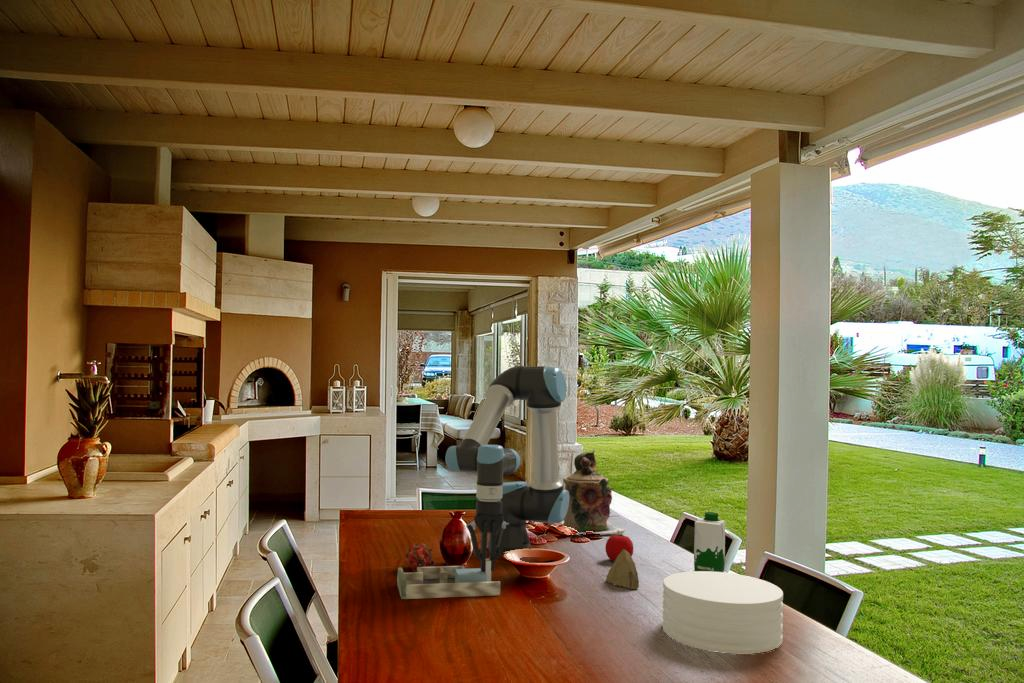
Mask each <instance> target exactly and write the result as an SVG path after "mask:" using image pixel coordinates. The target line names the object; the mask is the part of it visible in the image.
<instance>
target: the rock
mask: <svg viewBox="0 0 1024 683" xmlns="http://www.w3.org/2000/svg"><path fill="white" fill-rule="evenodd" d="M632 557H633V556H632ZM632 557H631V555H630V553H629V552H627V551H626V550H624V549H623V550H622V551H621V553H620V554H619V555H618V557H617V558H616V560H615V561H613V563H612V566H611V567H610V569H609V570H608V573H607V575H606V578H605V581H607V582H606V583H609V582H610V583H612V584H611V585H613V584H615V585H614V586H617V585H618V586H617V587H621V586H623V587H622V588H626V587H627V589H630V590H638V589H639V584H640V580H639V576H638V571H637V567H636V563H635V562H634V560H633V558H632ZM605 581H604V582H605ZM610 583H609V584H610ZM637 588H638V589H637Z"/></svg>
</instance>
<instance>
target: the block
mask: <svg viewBox="0 0 1024 683" xmlns="http://www.w3.org/2000/svg"><path fill="white" fill-rule="evenodd" d="M486 580H487V574H486V573H485V572H482V571H481V569H480V568H479V567H476V568H466V569H455V583H463V582H486Z"/></svg>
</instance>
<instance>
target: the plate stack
mask: <svg viewBox="0 0 1024 683" xmlns="http://www.w3.org/2000/svg"><path fill="white" fill-rule="evenodd" d="M662 583H663V584H662V587H663V590H662V598H663V600H662V609H663V610H662V625H661V627H663V629H662V631H663V630H664V631H663V633H664V632H665V633H666V634H667V635H668V636H669V637H668V636H667V635H666V634H665V633H664V634H665V635H666V636H667V637H668V638H670V637H671V638H673V639H675V640H676V641H675V640H674V641H675V642H677V641H679V642H681V643H683V644H682V645H684V644H685V645H684V646H686V645H689V646H692V647H691V648H693V647H695V648H694V649H696V648H699V649H698V650H700V649H703V650H702V651H704V650H710V651H718V652H726V653H760V652H765V651H769V650H773V649H775V648H778V647H779V646H780V645H781V644H783V641H784V640H783V632H784V629H783V628H784V627H783V626H784V625H783V621H784V614H783V611H784V604H783V603H784V602H783V600H784V591H783V590H782V589H781V588H780V587H779V586H778V585H776V584H774V583H771V582H770V581H768V580H764V579H760V578H758V577H754V576H748V575H744V574H738V573H734V572H733V573H732V572H725V571H724V572H713V571H694V570H693V571H682V572H678V573H673V574H669V575H668V576H666V577H665V578H664V579H663V582H662ZM671 638H670V639H671ZM673 639H672V640H673ZM679 642H678V643H679ZM681 643H680V644H681ZM689 646H688V647H689ZM781 646H782V645H781ZM781 646H780V647H781ZM780 647H779V648H780ZM779 648H778V649H779ZM773 651H774V650H773Z"/></svg>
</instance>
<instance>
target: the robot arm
mask: <svg viewBox="0 0 1024 683" xmlns="http://www.w3.org/2000/svg"><path fill="white" fill-rule="evenodd" d="M567 392H568V391H567V381H566V377H565V375H564V373H563V371H562V370H561V369H560V368H558V367H554V366H548V365H547V366H546V365H545V366H544V365H543V366H542V365H540V366H539V365H538V366H537V365H536V366H534V365H530V366H529V365H525V366H524V365H516V366H512V367H509V368H508V369H506V370H504V371H503V372H501V373H500V374H499V375H498V376H497V377H495V378H494V379H493V380H492V381H491V383H490V385H489V386H488V388H487V390H486V397H485V399H484V401H483V403H482V405H481V406H480V408H479V409H478V411H477V414H476V415H475V417H474V419H473V421H472V423H471V424H470V425H469V428H468V429H467V432H466V433H465V434H464V437H463V439H462V440H461V442H460V443H459V445H451V446H449V447H448V448H447V450H446V452H445V458H444V459H445V464H446V467H447V468H448V469H449V470H451V471H456V472H461V473H462V472H463V473H464V472H465V473H466V472H467V473H476V494H475V496H476V501H475V516H474V518H473V521H471V522H470V523H467V524H466V525H465V527H466V528H467V530H468V531H469V536H470V541H471V544H472V550H473V555H474V557H475V559H477V560H480V569H481V571H482V572H485V573H486V574H487V580H486V582H491V581H492V572H494V571H495V562H496V559H497V560H498V559H501V557H502V556H503V554H504V553H503V552H505V551H510V550H515V549H523V548H530V549H531V542H530V537H529V535H528V534H529V533H528V529H527V525H526V524H527V522H534V523H535V522H536V523H545V524H548V525H550V523H556V524H558V523H561V522H562V521H564V518H565V516H566V514H567V510H568V506H569V492H568V491H567V490H566V489H565V488H564V482H563V480H560V477H559V450H558V448H559V447H558V417H557V414H558V413H557V411H558V409H559V408H561V407H562V402H564V401H565V400H566V398H567ZM520 400H521V401H526V407H527V409H528V410H530V412H531V435H532V436H531V439H532V468H533V479H532V480H531V481H530V482H529V485H528V482H527V481H519V480H518V481H508V482H504V476H506V475H511V474H513V473H515V472H516V471H517V470H518V469H519V468H520V465H521V457H520V455H519V453H518V452H517V451H516V450H515V449H513V448H505V447H503V446H502V445H499V444H488V443H489V442H490V439H491V438H492V436H493V434H494V432H495V430H496V429H497V426H498V424H499V423H500V421H501V419H502V417H503V415H504V413H505V412H506V409H507V408H509V407H510V406H512V405H513V403H514V401H520ZM476 527H477V528H478V530H480V548H479V545H478V539H477V536H476V532H475V530H476ZM488 533H489V536H488ZM487 548H488V549H489V550H488V549H487ZM487 550H488V552H489V553H488V558H487Z"/></svg>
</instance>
